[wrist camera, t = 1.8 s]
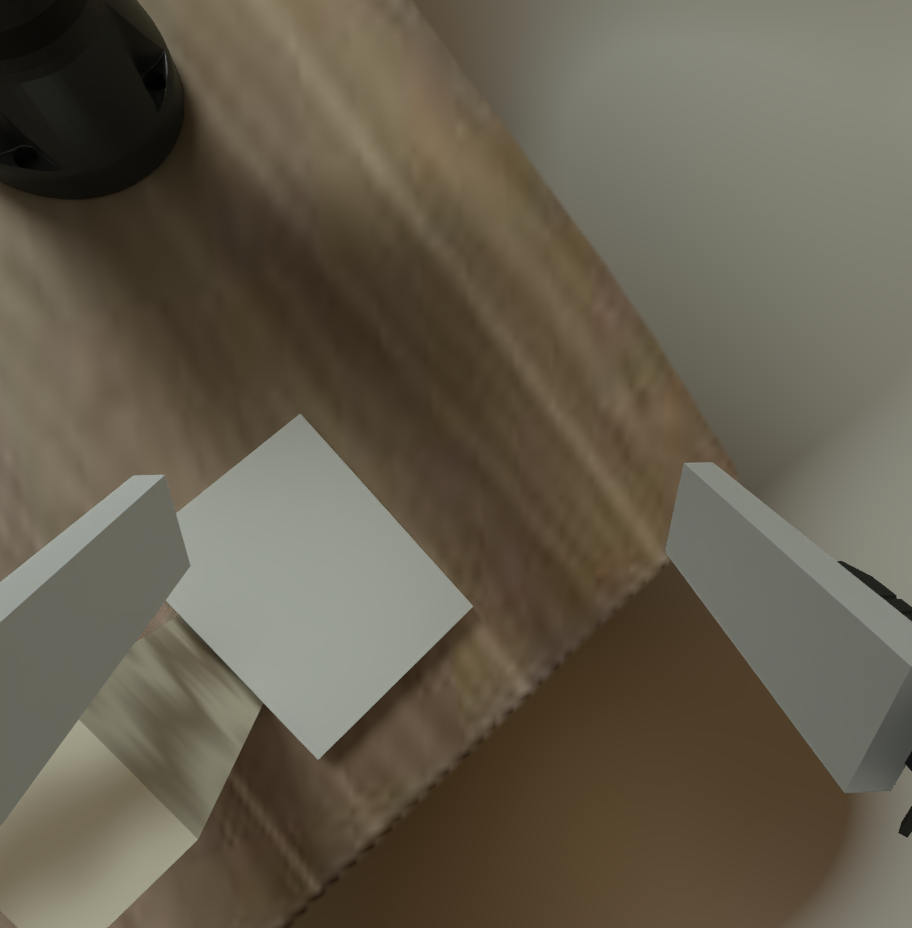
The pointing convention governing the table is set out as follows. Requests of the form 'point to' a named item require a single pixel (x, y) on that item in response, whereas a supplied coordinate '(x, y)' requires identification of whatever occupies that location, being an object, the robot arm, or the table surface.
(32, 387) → the table surface
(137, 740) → the birch block
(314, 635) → the pad
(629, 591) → the table surface
